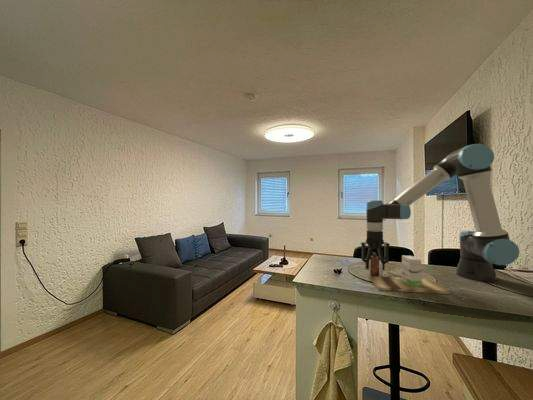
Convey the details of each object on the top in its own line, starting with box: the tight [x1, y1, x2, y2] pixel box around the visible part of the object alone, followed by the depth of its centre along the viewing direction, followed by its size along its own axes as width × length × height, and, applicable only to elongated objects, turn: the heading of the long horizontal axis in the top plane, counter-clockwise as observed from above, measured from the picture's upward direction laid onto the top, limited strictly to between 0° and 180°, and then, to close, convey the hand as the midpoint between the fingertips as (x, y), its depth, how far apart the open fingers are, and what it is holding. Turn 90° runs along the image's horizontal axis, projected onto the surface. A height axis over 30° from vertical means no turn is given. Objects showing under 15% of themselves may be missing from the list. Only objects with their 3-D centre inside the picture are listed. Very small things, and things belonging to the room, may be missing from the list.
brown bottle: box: [369, 252, 380, 277], centre depth 116 cm, size 4×4×12 cm
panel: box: [368, 276, 451, 295], centre depth 103 cm, size 28×14×1 cm, turn 81°
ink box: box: [401, 254, 423, 287], centre depth 102 cm, size 9×5×12 cm, turn 171°
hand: (375, 275), depth 116 cm, fingers open, 5 cm apart
